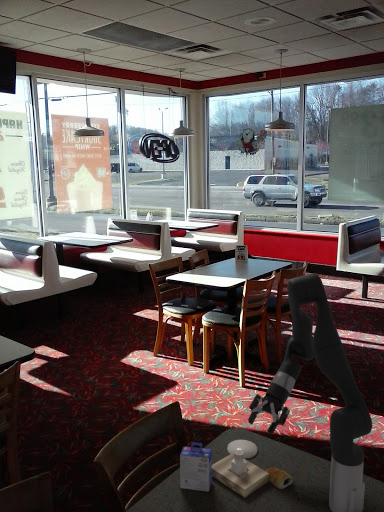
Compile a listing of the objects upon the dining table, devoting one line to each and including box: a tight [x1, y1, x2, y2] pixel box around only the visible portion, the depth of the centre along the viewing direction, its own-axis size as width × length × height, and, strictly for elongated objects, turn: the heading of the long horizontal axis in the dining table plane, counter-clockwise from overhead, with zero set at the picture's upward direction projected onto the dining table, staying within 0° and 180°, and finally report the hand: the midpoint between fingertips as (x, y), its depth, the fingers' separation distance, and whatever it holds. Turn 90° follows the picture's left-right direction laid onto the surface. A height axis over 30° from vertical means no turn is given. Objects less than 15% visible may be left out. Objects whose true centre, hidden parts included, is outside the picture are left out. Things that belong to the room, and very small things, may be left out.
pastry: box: [265, 467, 294, 490], centre depth 165 cm, size 9×7×4 cm
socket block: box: [212, 453, 270, 498], centre depth 167 cm, size 16×12×3 cm
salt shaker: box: [231, 450, 247, 477], centre depth 166 cm, size 4×4×10 cm
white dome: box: [226, 439, 258, 460], centre depth 183 cm, size 11×11×1 cm
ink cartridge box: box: [179, 441, 213, 492], centre depth 162 cm, size 10×6×14 cm, turn 78°
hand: (259, 428), depth 171 cm, fingers open, 8 cm apart
